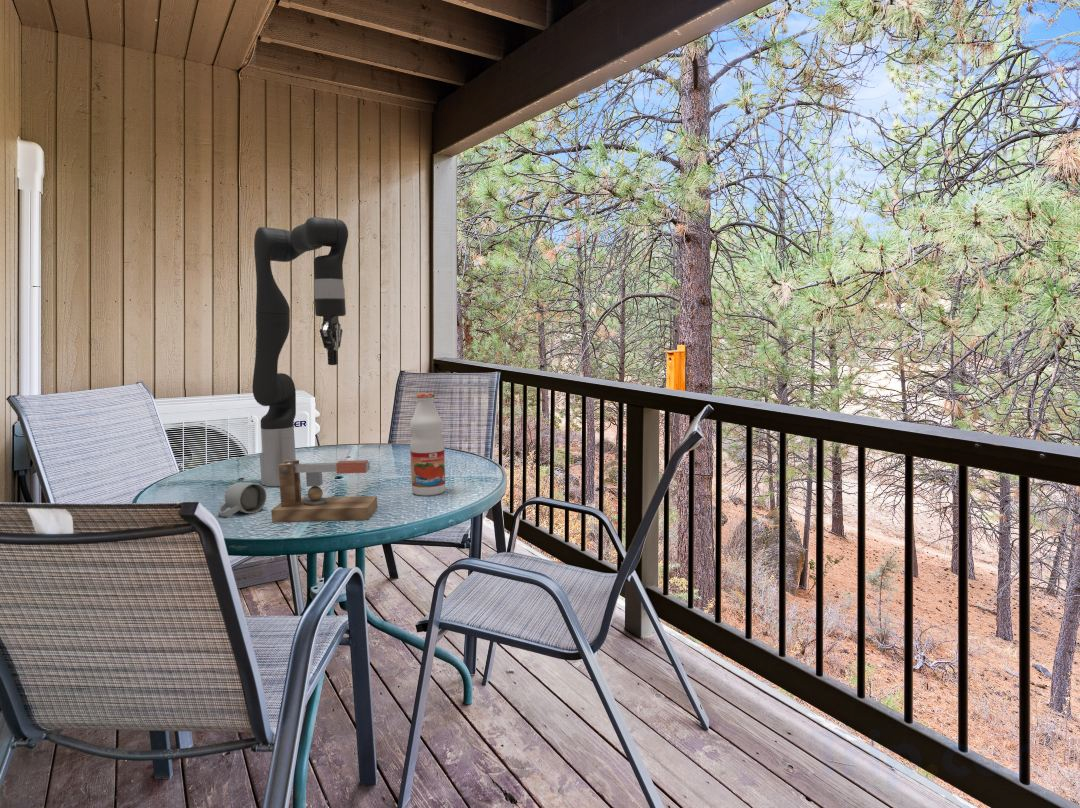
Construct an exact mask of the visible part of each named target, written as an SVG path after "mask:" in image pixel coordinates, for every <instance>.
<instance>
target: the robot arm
mask: <svg viewBox="0 0 1080 808" xmlns="http://www.w3.org/2000/svg"><path fill="white" fill-rule="evenodd" d="M348 239H349V230H348V226H347V224H346V223H345V222H344V221H343V220H341V219H338V218H329V217H320V216H319V217H318V216H314V217H313V216H312V217H309V218H307V219H306V221H305V222H304V223H303V224H299V225H296V226H295V227H294V228H293V229H292V230H291V231H290V230H287V229H285V228H284V229H282V228H275V227H274V228H273V227H266V226H259V227H258V228H257V229H256V230H255V233H254V240H253V248H254V250H253V251H254V252H253V253H254V262H255V278H256V298H255V301H256V302H255V303H256V304H255V333H256V334H255V357H254V369H253V376H252V386H251V387H252V388H251V389H252V394H253V398H254V400H255V402H257V404H259V405H261V406H262V407H269V408H268V411H267V413H266V414H265V415H264V416H263V417H262V418H260V434H261V448H262V451H261V452H260V453H259V464H260V465H259V466H260V481H261V484H260V485H262V486H263V485H264V486H266V487H280V480H279V464H285V462H284V461H286V460H297V459H296V457H297V456H296V442H295V441H296V439H295V427H294V426H295V425H294V423H295V419H296V413H297V408H296V407H297V402H296V401H297V400H296V399H297V397H296V395H297V393H296V386H295V382H294V380H293V378H292V377H291V376H290V375H289V374H287V373H283V372H278V364H279V357H280V354H281V352H282V350H283V347H284V346H285V343H286V341H287V338H288V336H289V333H290V327H291V323H290V321H291V318H290V317H291V314H290V313H291V309H290V305H289V303H288V301H287V299H286V297H285V296H284V293H283V292H282V291H281V289H280V287H279V286H278V285H277V282H276V281H275V278H274V275H273V271H272V265H271V263H272V262H279V263H280V262H281V263H287V262H292V261H294V260H295V259H297V258H299V256H302V255H303V254H305V253H306V252H311V251H315V250H318V249H320V248H322V247H330V250H329V253H328V254H324V255H318V256H316V257H315V258H314V260H313V274H314V276H313V277H314V283H313V284H314V285H313V286H314V287H313V292H314V293H313V295H314V296H313V297H314V310H315V311H314V313H315V316H316V317H322V323H321V328H320V329H319V334H320V337H321V341H322V345H323V348H324V349H325V350H326V352H327V365H328V366H337V365H338V364H339V359H338V358H339V356H338V355H339V354H338V351H339V349H340V348H341V342H342V337H343V328H342V324H341V323H340V319H339V317H346V309H347V308H346V291H345V284H344V271H343V270H344V269H343V268H344V267H343V263H344V257H345V254H346V253H345V252H346V248H347V243H348Z"/></svg>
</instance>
